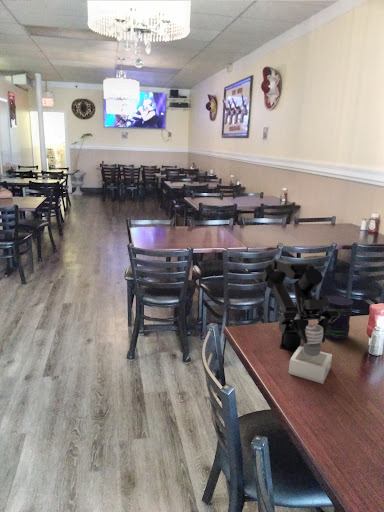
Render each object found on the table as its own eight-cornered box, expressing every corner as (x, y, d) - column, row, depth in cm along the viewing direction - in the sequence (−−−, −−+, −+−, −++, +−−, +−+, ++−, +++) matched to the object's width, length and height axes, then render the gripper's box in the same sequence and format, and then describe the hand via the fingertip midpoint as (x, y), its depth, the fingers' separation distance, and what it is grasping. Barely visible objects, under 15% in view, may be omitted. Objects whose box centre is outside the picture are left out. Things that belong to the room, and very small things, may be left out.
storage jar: (340, 329, 161) (345, 294, 157) (353, 341, 152) (358, 304, 148) (316, 330, 160) (321, 295, 156) (328, 342, 150) (332, 305, 146)
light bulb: (310, 365, 126) (314, 330, 123) (298, 356, 131) (301, 323, 127) (323, 361, 128) (328, 326, 125) (311, 353, 133) (315, 319, 130)
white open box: (288, 373, 129) (289, 359, 127) (298, 359, 138) (299, 345, 136) (322, 383, 123) (324, 369, 122) (330, 368, 132) (332, 354, 131)
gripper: (285, 287, 126) (295, 336, 118) (341, 286, 128) (354, 333, 121) (274, 301, 135) (283, 346, 128) (326, 299, 138) (338, 344, 131)
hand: (314, 342), depth 127 cm, fingers closed on light bulb, 5 cm apart
